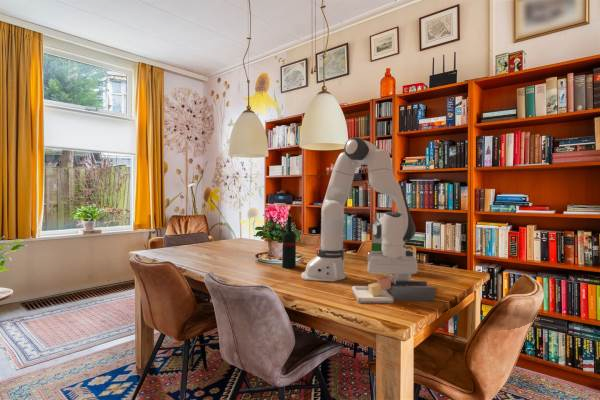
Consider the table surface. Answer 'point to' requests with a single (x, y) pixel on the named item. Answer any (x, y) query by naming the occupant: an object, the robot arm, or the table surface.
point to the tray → (365, 296)
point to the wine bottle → (289, 247)
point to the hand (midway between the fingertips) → (392, 284)
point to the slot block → (412, 291)
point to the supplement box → (403, 277)
